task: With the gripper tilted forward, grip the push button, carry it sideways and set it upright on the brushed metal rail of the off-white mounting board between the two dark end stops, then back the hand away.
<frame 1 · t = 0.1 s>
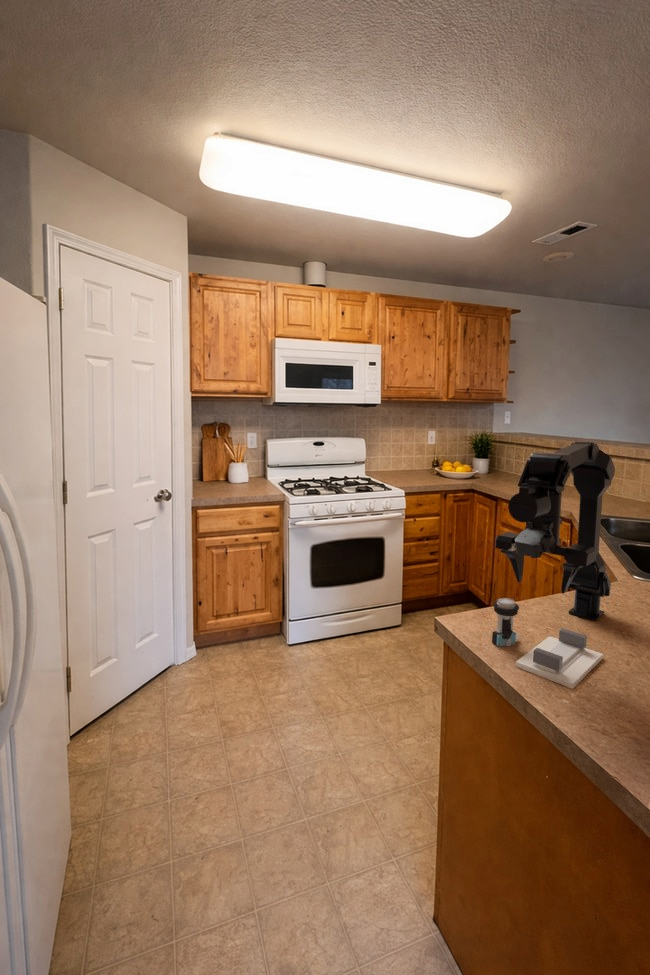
hand: (540, 587, 100), 15 cm above the table, tool pointing down, fingers open, 9 cm apart
push button: (506, 643, 107), on the table
rail board: (559, 662, 99), on the table
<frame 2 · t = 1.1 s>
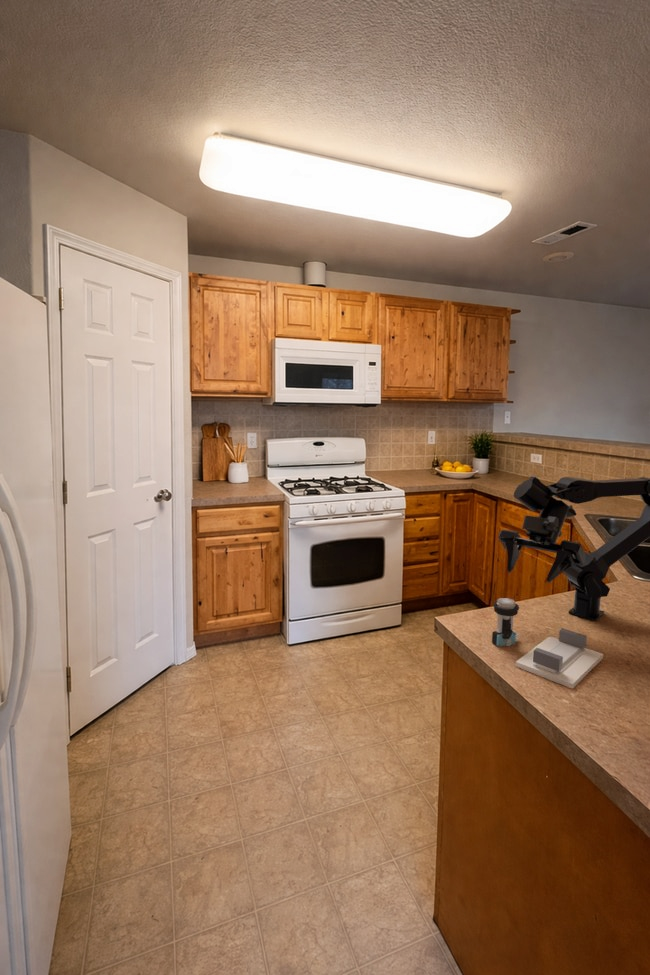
hand: (527, 576, 110), 13 cm above the table, tool tilted 45°, fingers open, 9 cm apart
nothing on the table moved.
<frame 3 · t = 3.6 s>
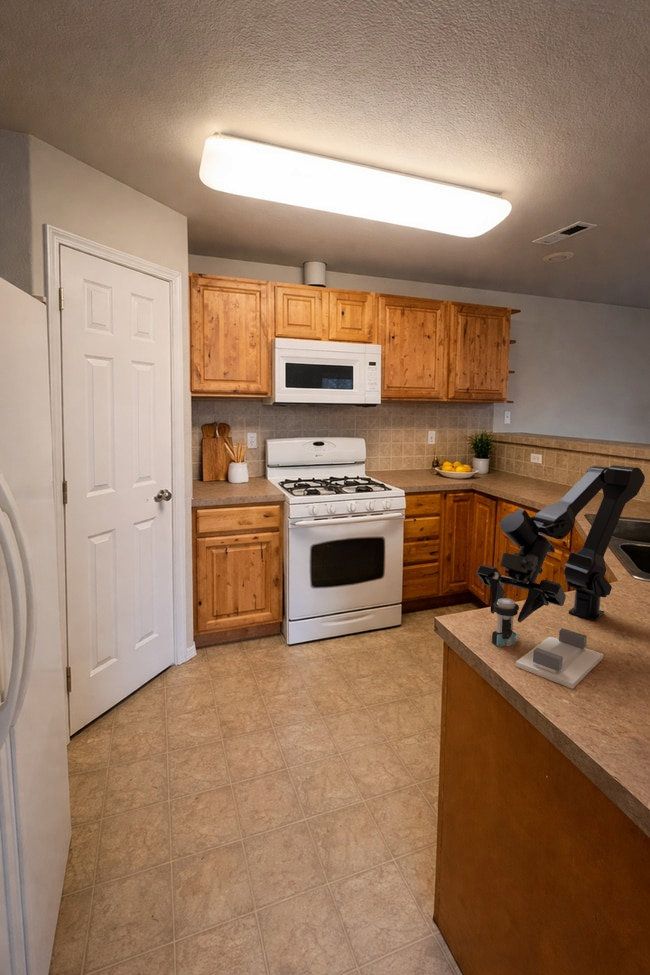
hand: (505, 617, 105), 7 cm above the table, tool tilted 45°, fingers open, 6 cm apart
push button: (506, 643, 107), on the table, touching gripper
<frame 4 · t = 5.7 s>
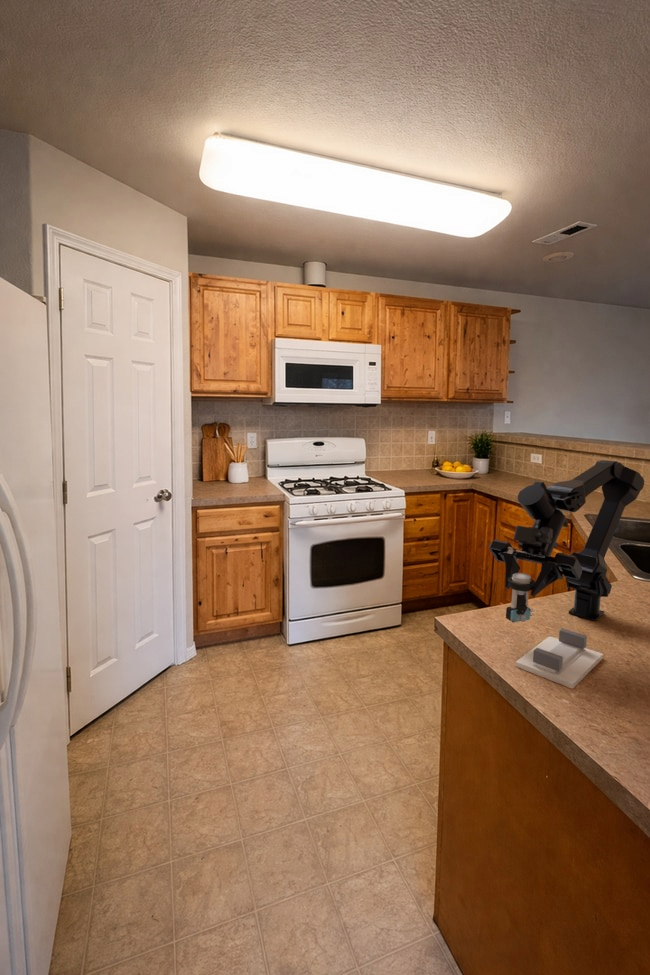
hand: (519, 591, 102), 13 cm above the table, tool tilted 45°, fingers closed on push button, 5 cm apart
push button: (520, 619, 104), point 6 cm above the table, touching gripper
when the fingers open (9 cm above the table, at t = 7.8 s): push button stays where it is, resting on rail board.
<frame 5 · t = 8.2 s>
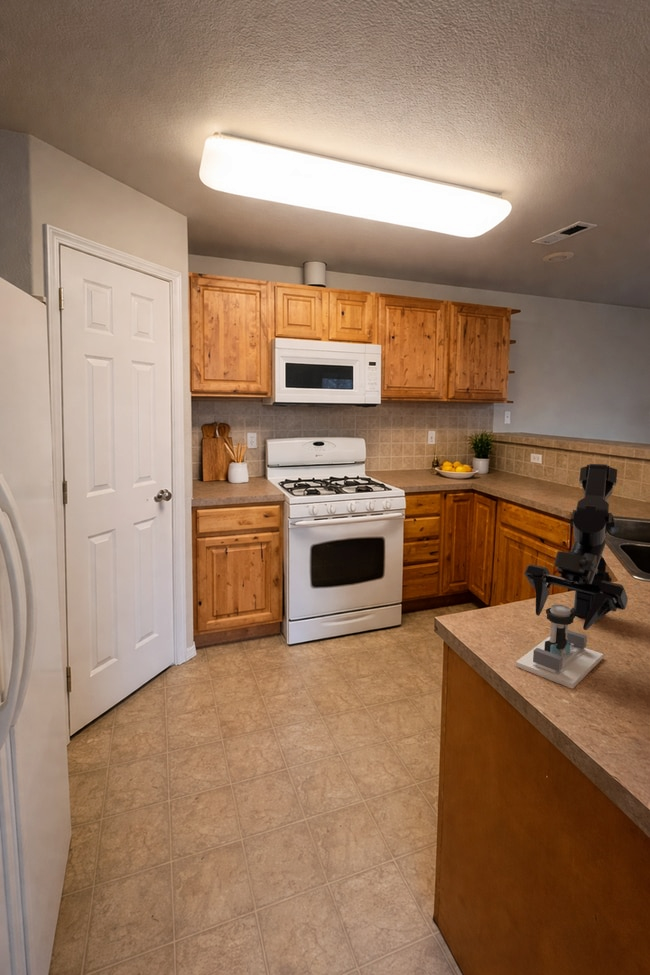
hand: (559, 621, 96), 9 cm above the table, tool tilted 45°, fingers open, 9 cm apart
push button: (560, 654, 98), point 2 cm above the table, touching rail board
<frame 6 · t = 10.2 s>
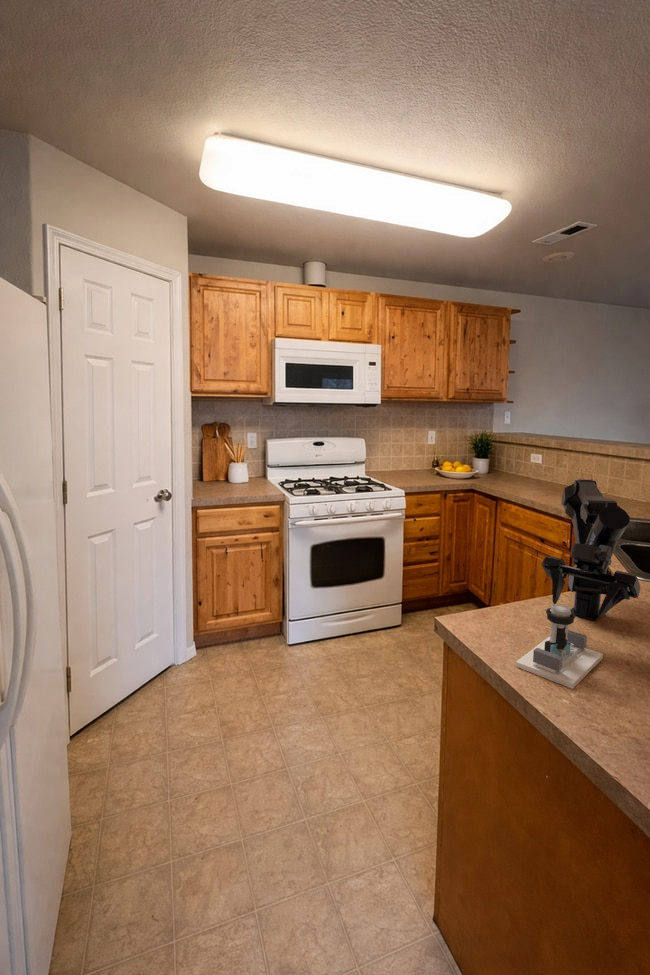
hand: (576, 609, 102), 9 cm above the table, tool tilted 45°, fingers open, 9 cm apart
nothing on the table moved.
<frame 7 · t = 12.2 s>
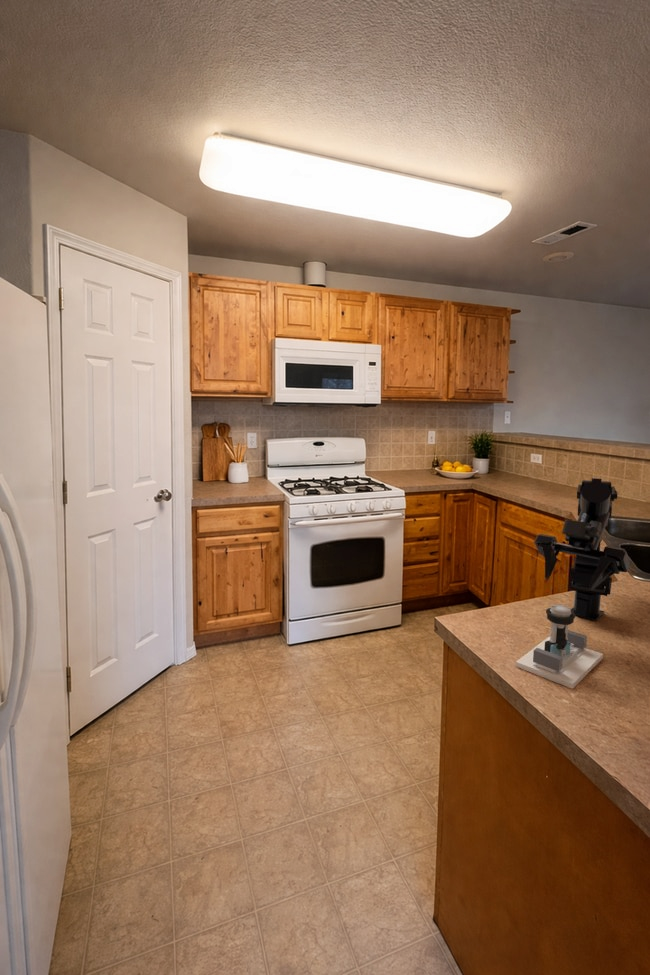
hand: (567, 584, 105), 14 cm above the table, tool tilted 45°, fingers open, 9 cm apart
nothing on the table moved.
at the end: push button 0.2 cm off-centre on the rail board, point 1.6 cm above the rail board's base; push button tilted 0°; the gripper is holding nothing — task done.
